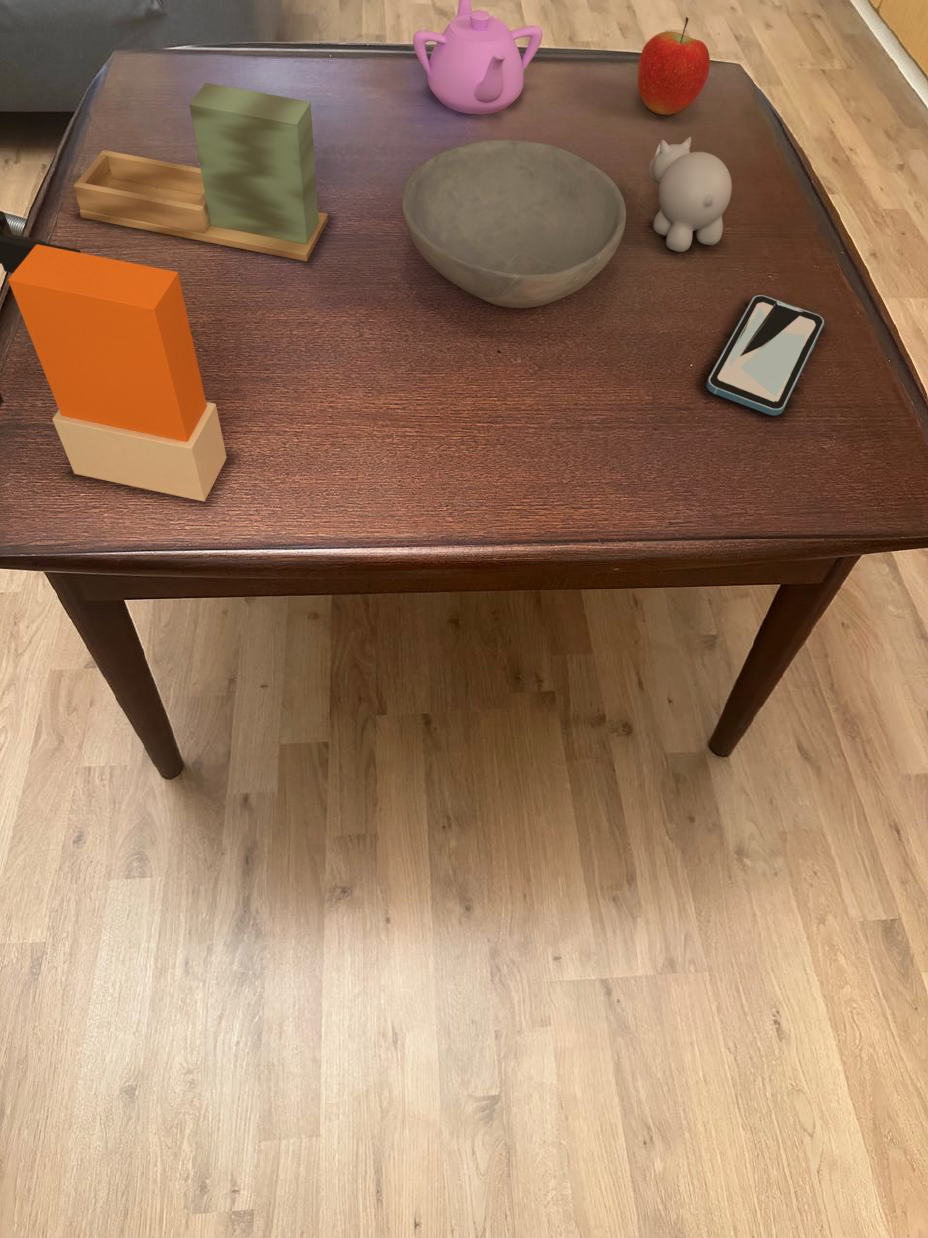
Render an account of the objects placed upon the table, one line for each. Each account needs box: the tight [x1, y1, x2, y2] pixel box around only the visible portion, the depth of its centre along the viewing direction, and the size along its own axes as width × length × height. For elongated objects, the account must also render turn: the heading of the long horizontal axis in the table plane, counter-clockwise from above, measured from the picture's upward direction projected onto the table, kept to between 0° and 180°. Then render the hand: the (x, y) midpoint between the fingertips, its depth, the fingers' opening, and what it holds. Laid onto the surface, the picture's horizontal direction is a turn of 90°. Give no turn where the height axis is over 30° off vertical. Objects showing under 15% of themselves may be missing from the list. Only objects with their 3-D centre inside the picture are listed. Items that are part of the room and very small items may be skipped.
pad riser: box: [52, 401, 227, 502], centre depth 74 cm, size 11×5×6 cm, turn 77°
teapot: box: [412, 0, 543, 115], centre depth 109 cm, size 12×14×9 cm
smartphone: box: [705, 294, 825, 416], centre depth 89 cm, size 7×1×15 cm
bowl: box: [400, 139, 627, 309], centre depth 90 cm, size 21×21×8 cm
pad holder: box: [72, 82, 329, 262], centre depth 90 cm, size 24×7×13 cm, turn 77°
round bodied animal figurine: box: [647, 136, 733, 253], centre depth 97 cm, size 7×12×8 cm, turn 18°
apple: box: [636, 16, 711, 116], centre depth 109 cm, size 8×8×10 cm
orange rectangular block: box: [7, 244, 207, 442], centre depth 67 cm, size 10×4×12 cm, turn 77°
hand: (41, 325), depth 67 cm, fingers open, 13 cm apart
